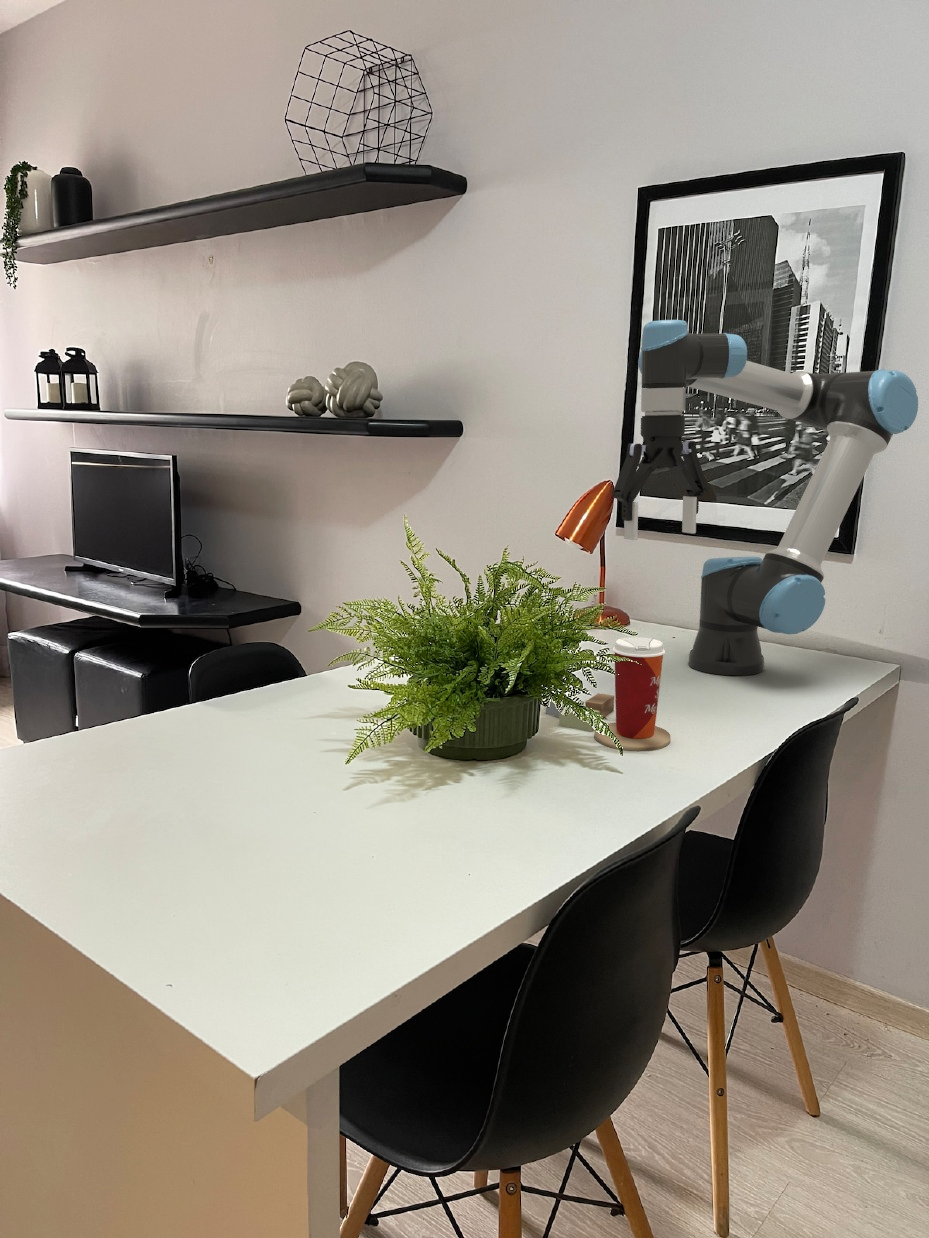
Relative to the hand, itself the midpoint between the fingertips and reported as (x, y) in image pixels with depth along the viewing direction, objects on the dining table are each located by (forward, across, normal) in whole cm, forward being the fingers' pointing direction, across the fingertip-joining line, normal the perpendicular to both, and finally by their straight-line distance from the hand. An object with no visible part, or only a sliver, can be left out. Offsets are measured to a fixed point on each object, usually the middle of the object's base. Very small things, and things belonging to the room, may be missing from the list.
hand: (660, 536), depth 168 cm
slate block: (+29, +22, +1) cm, 37 cm away
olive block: (+29, +23, +7) cm, 38 cm away
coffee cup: (+29, +19, +16) cm, 38 cm away
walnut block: (+30, +16, +3) cm, 34 cm away
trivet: (+29, +19, +16) cm, 39 cm away
